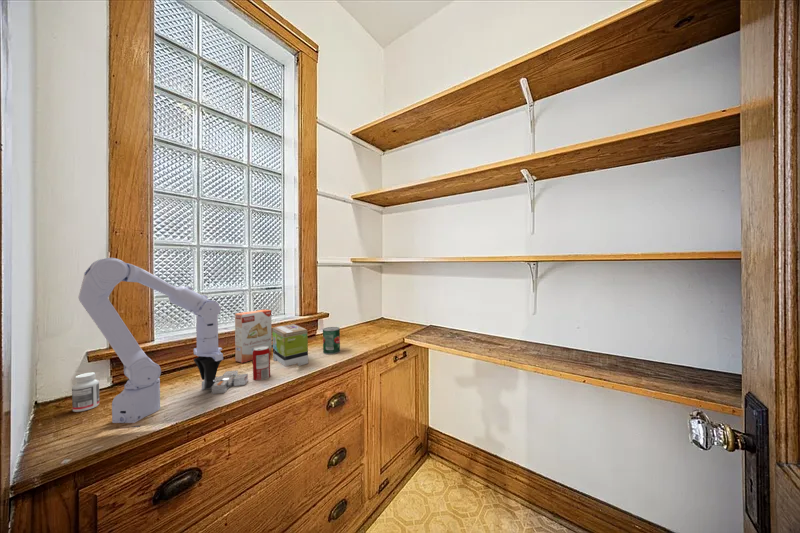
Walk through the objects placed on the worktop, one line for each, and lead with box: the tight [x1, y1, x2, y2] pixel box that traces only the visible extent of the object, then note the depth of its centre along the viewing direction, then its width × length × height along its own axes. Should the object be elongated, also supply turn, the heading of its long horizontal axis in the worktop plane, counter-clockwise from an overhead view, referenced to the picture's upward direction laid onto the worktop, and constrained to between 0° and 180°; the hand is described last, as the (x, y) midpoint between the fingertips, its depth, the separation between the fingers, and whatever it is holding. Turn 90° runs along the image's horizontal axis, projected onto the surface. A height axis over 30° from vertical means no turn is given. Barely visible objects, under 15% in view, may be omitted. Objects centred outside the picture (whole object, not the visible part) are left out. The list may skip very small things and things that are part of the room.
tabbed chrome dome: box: [201, 370, 249, 395], centre depth 95 cm, size 13×13×3 cm
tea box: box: [271, 323, 309, 367], centre depth 120 cm, size 15×10×15 cm, turn 42°
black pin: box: [204, 371, 213, 390], centre depth 90 cm, size 2×2×8 cm
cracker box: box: [234, 309, 273, 364], centre depth 127 cm, size 14×6×21 cm, turn 148°
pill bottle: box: [71, 371, 101, 413], centre depth 83 cm, size 5×5×10 cm
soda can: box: [252, 346, 271, 381], centre depth 101 cm, size 6×6×12 cm
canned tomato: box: [322, 326, 341, 355], centre depth 134 cm, size 8×8×11 cm
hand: (208, 379), depth 90 cm, fingers closed on black pin, 2 cm apart
